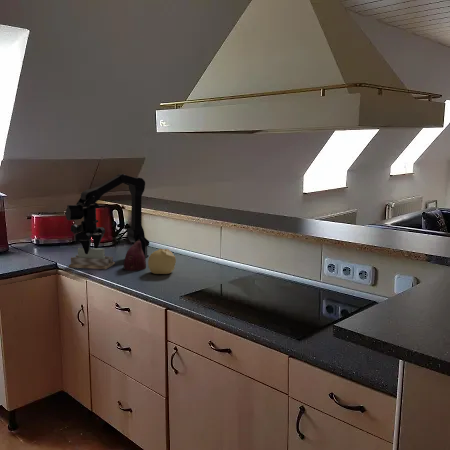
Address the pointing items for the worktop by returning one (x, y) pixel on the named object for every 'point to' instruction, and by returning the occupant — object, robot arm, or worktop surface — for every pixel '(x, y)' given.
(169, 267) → the yellow rounded lump
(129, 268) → the vegetable
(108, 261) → the track
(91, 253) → the rectangular block
